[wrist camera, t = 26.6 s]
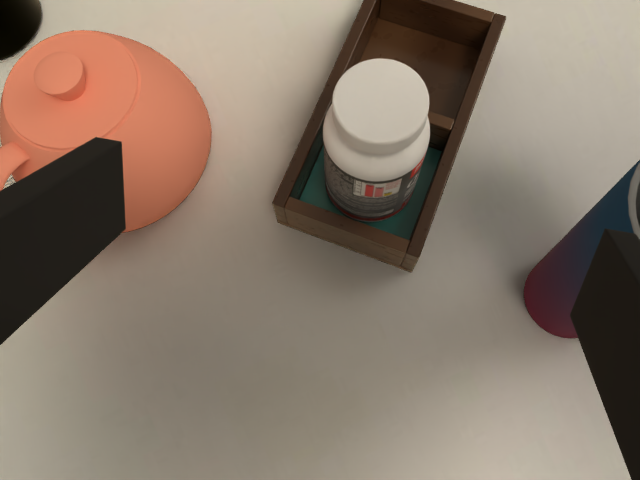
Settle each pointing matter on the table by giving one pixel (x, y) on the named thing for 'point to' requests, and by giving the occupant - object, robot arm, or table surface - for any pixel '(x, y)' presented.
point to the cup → (579, 256)
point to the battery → (17, 24)
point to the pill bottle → (375, 139)
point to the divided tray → (444, 115)
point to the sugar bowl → (107, 116)
